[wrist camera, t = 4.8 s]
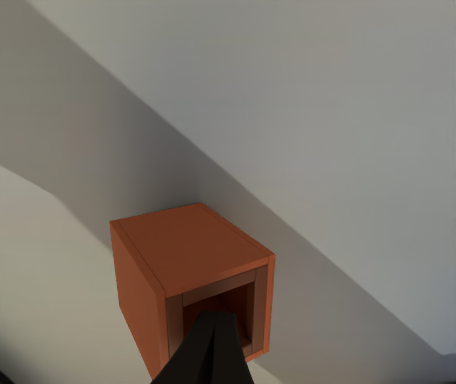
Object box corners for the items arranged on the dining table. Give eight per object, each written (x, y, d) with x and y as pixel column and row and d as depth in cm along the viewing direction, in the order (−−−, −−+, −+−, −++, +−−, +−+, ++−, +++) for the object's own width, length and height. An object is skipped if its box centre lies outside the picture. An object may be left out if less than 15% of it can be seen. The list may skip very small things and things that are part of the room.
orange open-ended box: (202, 278, 20) (119, 306, 18) (201, 202, 18) (109, 220, 16) (269, 351, 15) (163, 405, 12) (275, 253, 13) (155, 293, 11)
